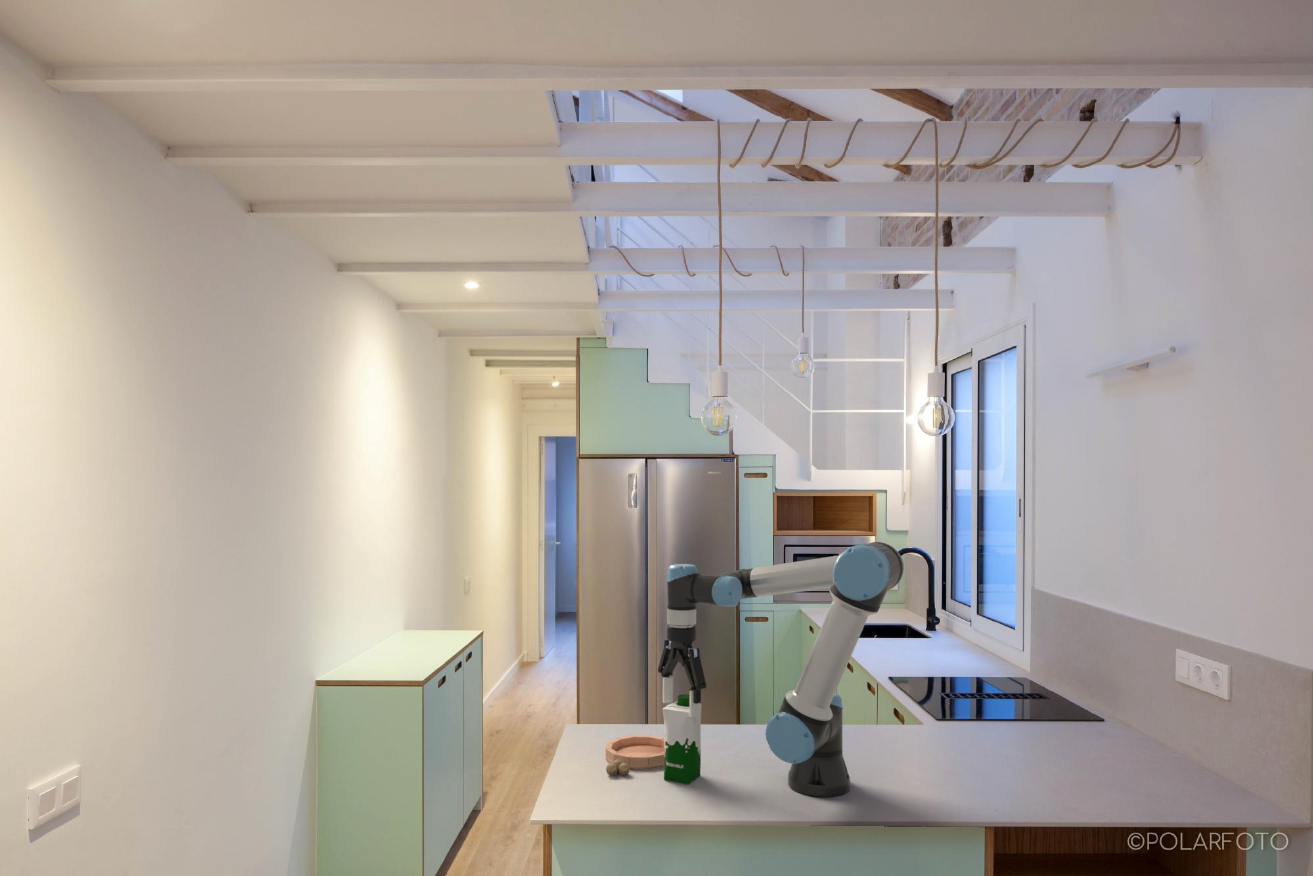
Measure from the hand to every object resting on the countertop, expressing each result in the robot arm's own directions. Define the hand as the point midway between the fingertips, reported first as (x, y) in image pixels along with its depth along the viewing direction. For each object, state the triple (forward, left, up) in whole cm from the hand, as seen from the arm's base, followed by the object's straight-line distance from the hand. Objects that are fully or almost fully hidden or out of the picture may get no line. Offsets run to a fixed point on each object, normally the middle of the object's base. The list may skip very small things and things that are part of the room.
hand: (680, 709), depth 211 cm
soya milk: (0, 0, -17) cm, 17 cm away
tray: (+19, +2, -17) cm, 25 cm away
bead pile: (+10, +13, -17) cm, 24 cm away
